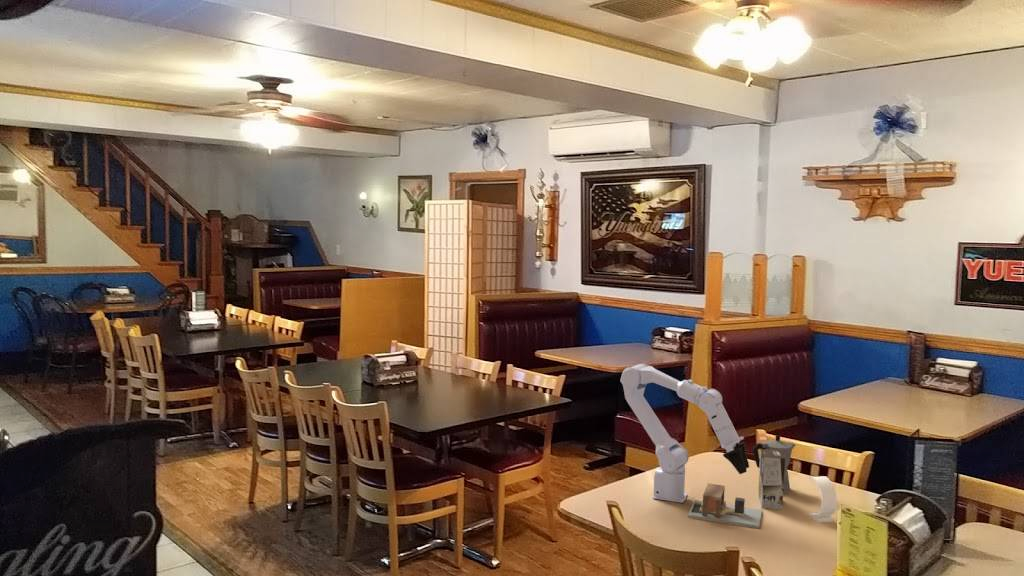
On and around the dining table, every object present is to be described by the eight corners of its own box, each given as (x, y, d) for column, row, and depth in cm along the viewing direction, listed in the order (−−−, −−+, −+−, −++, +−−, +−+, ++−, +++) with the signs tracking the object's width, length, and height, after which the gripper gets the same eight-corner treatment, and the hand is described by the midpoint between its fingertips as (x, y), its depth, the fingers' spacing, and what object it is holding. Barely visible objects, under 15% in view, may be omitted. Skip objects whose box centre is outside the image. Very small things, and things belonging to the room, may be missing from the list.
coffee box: (783, 510, 228) (785, 458, 227) (761, 508, 229) (763, 456, 228) (778, 499, 237) (781, 449, 236) (757, 497, 238) (759, 448, 237)
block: (705, 509, 224) (706, 496, 223) (707, 504, 228) (707, 491, 227) (719, 511, 222) (720, 498, 222) (721, 506, 226) (721, 493, 226)
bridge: (702, 515, 221) (703, 495, 220) (707, 502, 231) (707, 483, 230) (719, 518, 219) (720, 497, 218) (723, 505, 229) (724, 485, 229)
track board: (687, 517, 221) (688, 514, 221) (694, 502, 234) (694, 499, 233) (758, 528, 214) (759, 525, 214) (761, 512, 226) (761, 509, 226)
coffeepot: (785, 482, 252) (787, 430, 251) (801, 492, 243) (804, 438, 242) (743, 485, 249) (745, 432, 247) (758, 495, 240) (761, 440, 238)
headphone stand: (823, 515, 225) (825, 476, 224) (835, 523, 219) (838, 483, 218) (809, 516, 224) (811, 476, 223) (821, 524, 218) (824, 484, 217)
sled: (699, 511, 224) (700, 497, 223) (702, 504, 229) (702, 490, 229) (743, 518, 219) (743, 503, 219) (744, 510, 225) (745, 496, 224)
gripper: (733, 425, 218) (755, 469, 215) (738, 420, 231) (759, 461, 228) (710, 435, 220) (732, 478, 217) (717, 429, 234) (738, 470, 231)
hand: (744, 470), depth 223 cm, fingers open, 7 cm apart
